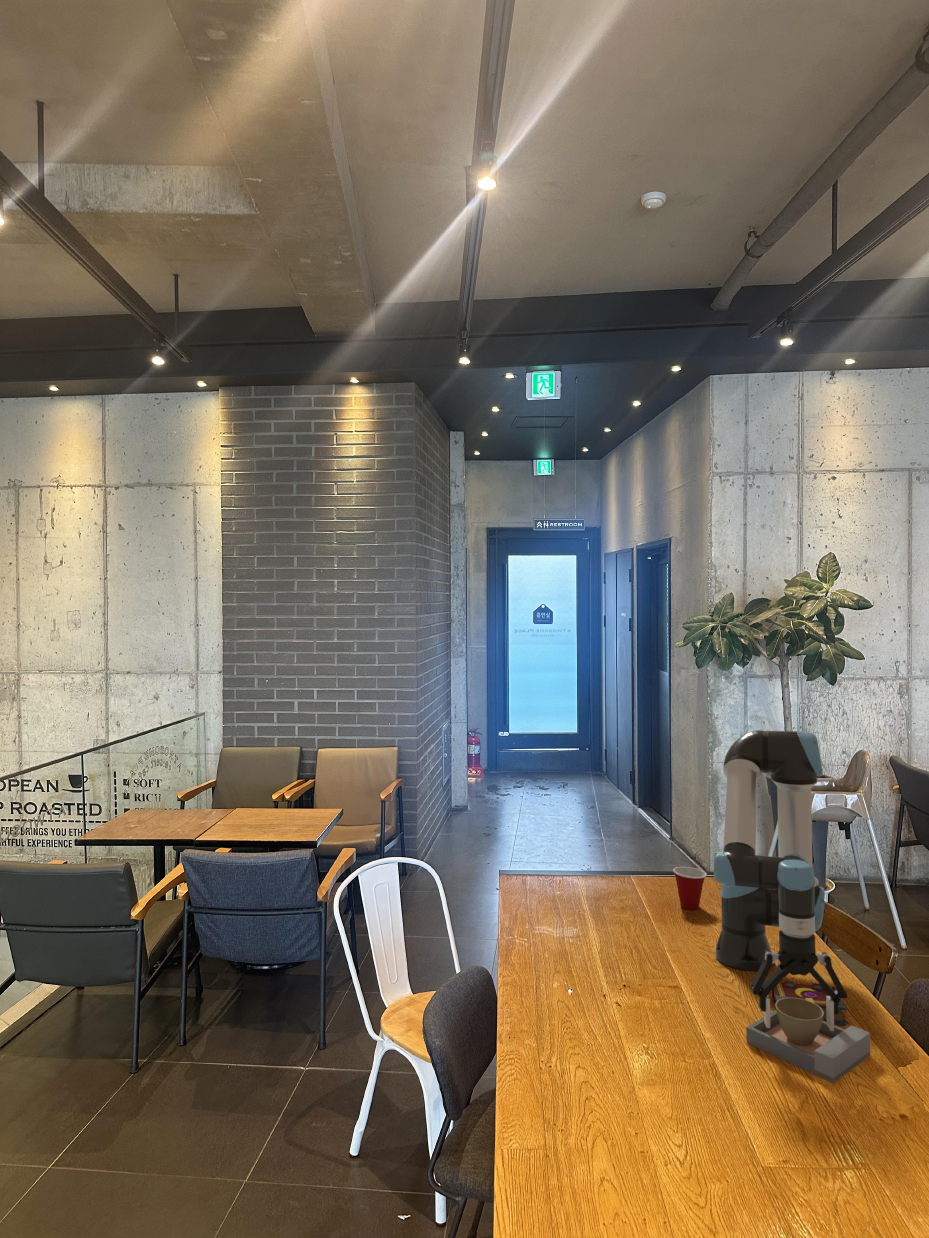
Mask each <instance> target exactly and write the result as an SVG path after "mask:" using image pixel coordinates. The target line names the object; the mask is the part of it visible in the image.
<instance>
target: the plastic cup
mask: <svg viewBox="0 0 929 1238" xmlns="http://www.w3.org/2000/svg"><path fill="white" fill-rule="evenodd" d="M672 871H673V873H674V877H675V881H676V886H677V892H678V893H677V894H678V899H679V903H680V907H681V908H683V909H685V910H691V911H692V910H693V911H694V910H698V909H699V907H700V902H701V897H702V891H703V886H704V883H705V878H706V877H707V875H708V874H707V872H706V871H704V870H702V869H700V868H695V867H689V866H678V867H677V866H676V867H674V868H673V870H672Z"/></svg>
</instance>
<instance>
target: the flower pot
mask: <svg viewBox="0 0 929 1238" xmlns="http://www.w3.org/2000/svg"><path fill="white" fill-rule="evenodd" d="M775 1006H776V1007H775ZM774 1007H775V1010H776V1012H777V1017H778V1020H779V1023H780V1025H781V1028H782V1030H783V1032H784V1034H785V1035H786V1037H787V1038H788V1040H789V1041H790V1042H792V1043H794V1044H797V1045H801V1046H806V1045H810V1044H811V1043H812V1042H813V1040H814V1039H815V1038H816V1036H817V1034H818V1032H819V1030H820V1028H821V1025H822V1021H823V1015H824V1012H823V1010H822V1009H821V1007H819V1006H818V1005H816V1004H815V1003H813V1002H810V1001H808V1000H804V999H800V998H782V999H780V1000H778V1001H777V1002H776V1004H774Z"/></svg>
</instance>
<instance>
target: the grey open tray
mask: <svg viewBox="0 0 929 1238" xmlns="http://www.w3.org/2000/svg"><path fill="white" fill-rule="evenodd" d="M746 1044H748V1045H751V1046H753V1047H755V1048H757V1049H760V1050H761V1051H763V1052H766V1053H767V1054H770V1055H772V1056H774V1057H777V1058H779V1059H781V1060H783V1061H785V1062H788V1063H790V1064H791V1065H794V1066H796V1067H798V1068H800V1069H802V1070H805V1071H807V1072H808V1073H811V1074H813V1075H815V1076H817V1077H819V1078H821V1079H824V1080H826V1081H828V1082H830V1083H833V1084H834V1083H836V1082H837V1081H838V1080H839V1079H841V1078H842V1077H843V1076H845V1075H847V1074H848V1073H850V1071H852V1070H853V1069H855V1068H856V1067H857V1066H858V1065H860V1064H862V1063H863V1062H864V1061H865V1060H866V1059H867V1058H869V1057H870V1056H871V1033H870V1031H867V1030H864V1029H861V1028H859V1027H857V1026H854V1025H850V1026H849V1027H847V1028H846V1029H845V1028H843V1027H840V1026H837V1025H836V1024H834V1031H830V1029H829V1028H828V1026H827V1022H825V1021H822V1025H821V1028H820V1030H819V1032H818V1034H817V1036H816V1038H815V1039H814V1040H813V1042H812V1043H811V1044H810V1045H806V1046H801V1045H797V1044H794V1043H792V1042H790V1041H789V1040H788V1038H787V1037H786V1035H785V1034H784V1032H783V1030H782V1028H781V1025H780V1023H779V1020H778V1017H777V1012H776V1009H775V1010H773V1011H772V1012H770V1028H767V1027H766V1025H765V1023H764V1016H763V1017H762V1018H760V1019H758V1020H756V1021H754V1022H753V1023H751V1024H749V1025H748V1026H746Z"/></svg>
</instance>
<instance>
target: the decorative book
mask: <svg viewBox="0 0 929 1238" xmlns="http://www.w3.org/2000/svg"><path fill="white" fill-rule="evenodd" d="M830 987H831V988H832V990H833V991H837V989H836V987H835V986H830ZM826 996H830V995H829V994H828V993H827V992H826V991H825V989H824V988H823V987H822V986H821V985H820V984H819V983H812V984H807V983H806V984H805V983H803V984H802V983H794V981H789V980H784V982H781V981H780V982H779V983H778V984H777V985H776V987H775V988H774V989H773V990H772V991H771V997H772V1001H773V1003H774V1008H776V1006H775V1004H776V1002H777V1001H778V1000H780V999H782V998H800V999H804V1000H808V1001H810V1002H813V1003H815V1004H816V1005H818V1006H819V1007H821V1009H822V1010H823V1012H824V1015H823V1021H825V1022H827V1019H826ZM846 1009H847V1008H846V1006H845V1004H844V1002H843V1000H842V998H841V999H840V1002H839V1003H838V1014H837V1015H836V1014H834V1025H841V1026H847V1024H849V1021H848V1020H847V1019H846V1015H845V1014H844V1012H845V1013H847V1011H846Z"/></svg>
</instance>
